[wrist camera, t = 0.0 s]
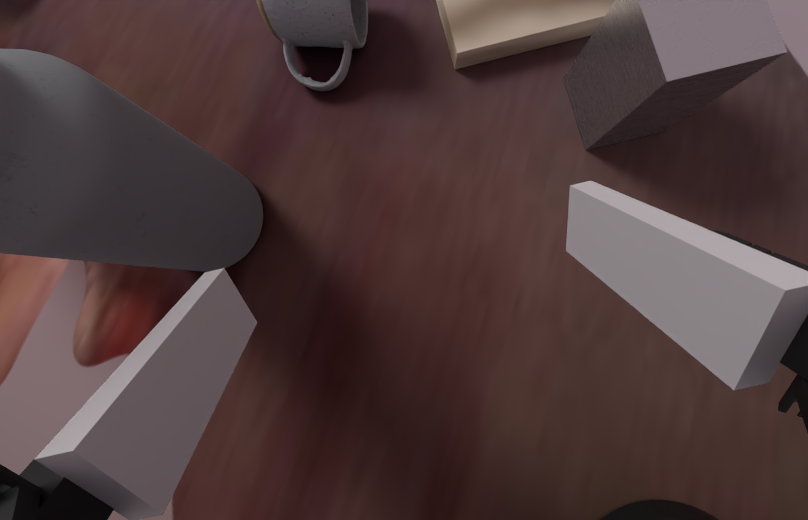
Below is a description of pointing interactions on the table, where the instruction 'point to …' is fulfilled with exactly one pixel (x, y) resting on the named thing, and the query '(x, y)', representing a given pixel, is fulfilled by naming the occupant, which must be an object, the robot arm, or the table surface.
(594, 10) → the base
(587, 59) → the mottled grey cube
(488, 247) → the table surface
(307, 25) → the ceramic mug
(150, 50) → the table surface
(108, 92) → the water bottle
